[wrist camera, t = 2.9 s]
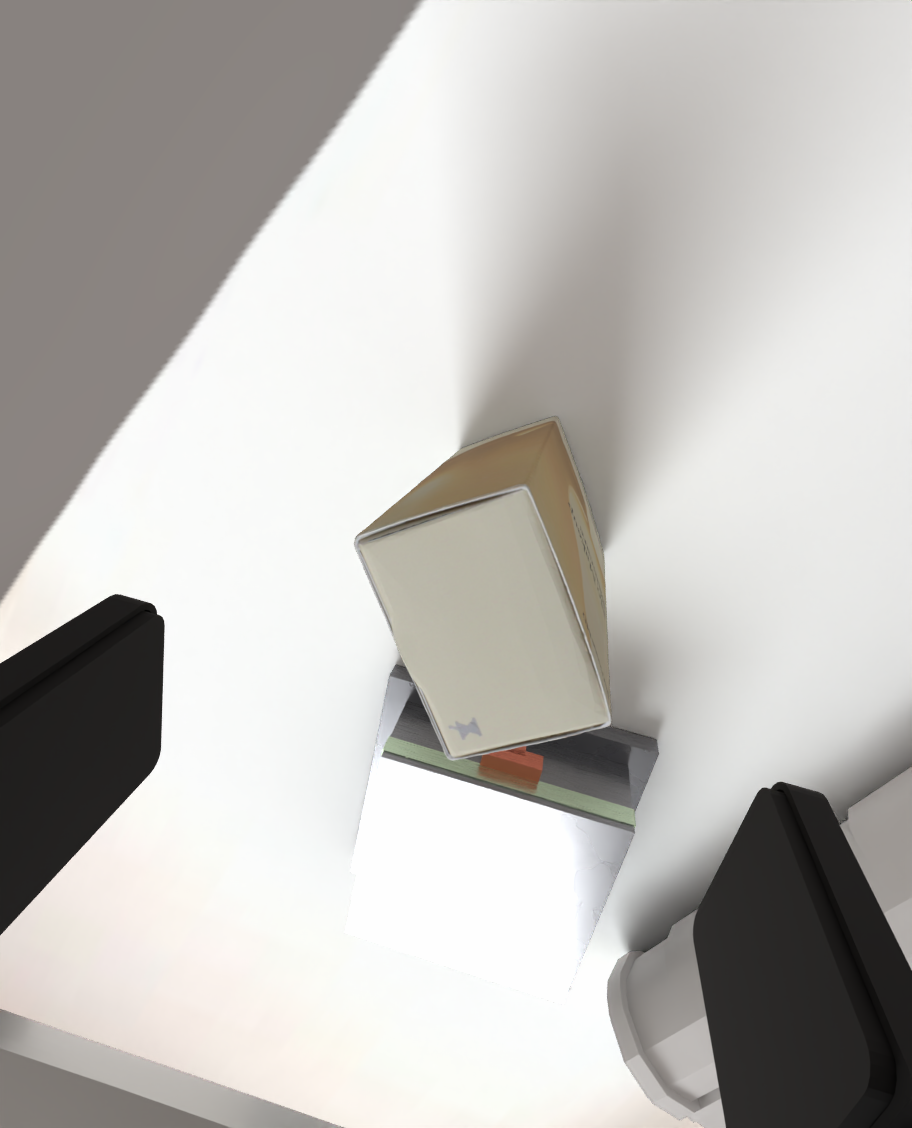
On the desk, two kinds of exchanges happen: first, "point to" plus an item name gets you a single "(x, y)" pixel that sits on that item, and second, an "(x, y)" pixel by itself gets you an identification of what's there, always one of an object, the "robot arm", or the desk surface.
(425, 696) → the skincare box
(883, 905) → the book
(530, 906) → the grey piece
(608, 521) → the desk surface
